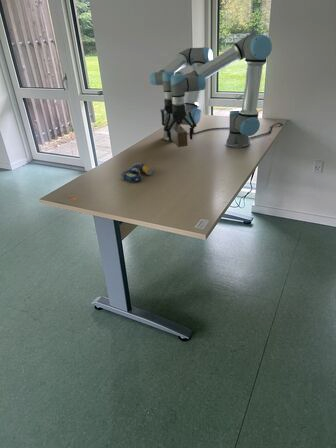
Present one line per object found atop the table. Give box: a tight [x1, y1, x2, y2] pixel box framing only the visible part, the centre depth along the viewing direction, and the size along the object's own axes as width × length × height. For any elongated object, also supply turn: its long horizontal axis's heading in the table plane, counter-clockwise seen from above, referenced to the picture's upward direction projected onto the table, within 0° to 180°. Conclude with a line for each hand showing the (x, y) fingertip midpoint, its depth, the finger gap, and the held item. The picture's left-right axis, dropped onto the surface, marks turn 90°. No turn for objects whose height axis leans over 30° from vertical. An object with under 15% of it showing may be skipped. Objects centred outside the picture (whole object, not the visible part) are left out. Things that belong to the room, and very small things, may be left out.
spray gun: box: [120, 162, 154, 183], centre depth 191 cm, size 21×4×15 cm
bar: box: [168, 121, 189, 148], centre depth 210 cm, size 28×6×9 cm, turn 14°
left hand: (172, 134), depth 220 cm, fingers closed on bar, 6 cm apart
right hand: (180, 140), depth 202 cm, fingers open, 12 cm apart
